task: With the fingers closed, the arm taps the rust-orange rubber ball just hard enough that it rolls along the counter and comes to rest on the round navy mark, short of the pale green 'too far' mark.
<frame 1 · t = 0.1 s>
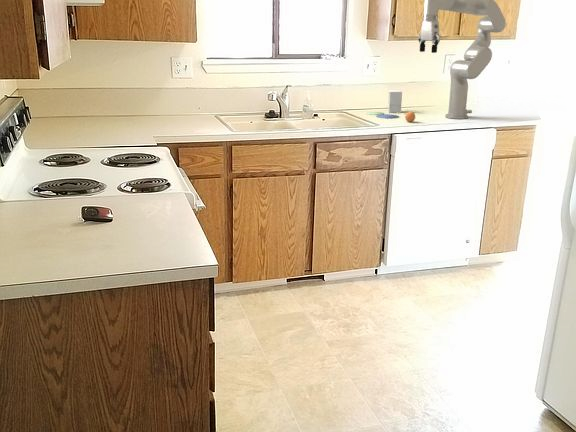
hand: (428, 52, 320), 37 cm above the counter, tool pointing down, fingers open, 9 cm apart
green far disc: (375, 113, 355), on the counter
supplement box: (394, 112, 361), on the counter
navy disc: (387, 116, 345), on the counter
ball: (410, 116, 327), on the counter
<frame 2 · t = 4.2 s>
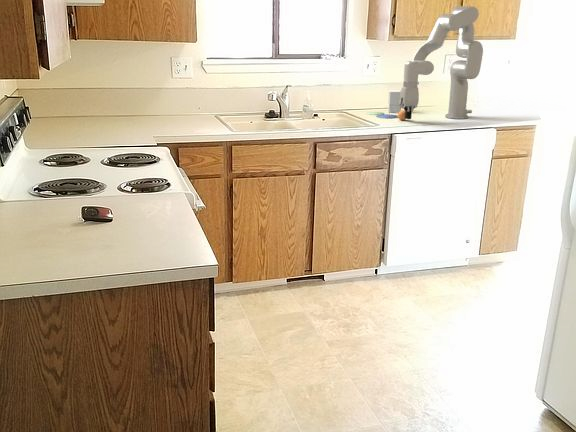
hand: (408, 118, 329), 2 cm above the counter, tool pointing down, fingers closed
ball: (402, 115, 332), on the counter
everything else where it was.
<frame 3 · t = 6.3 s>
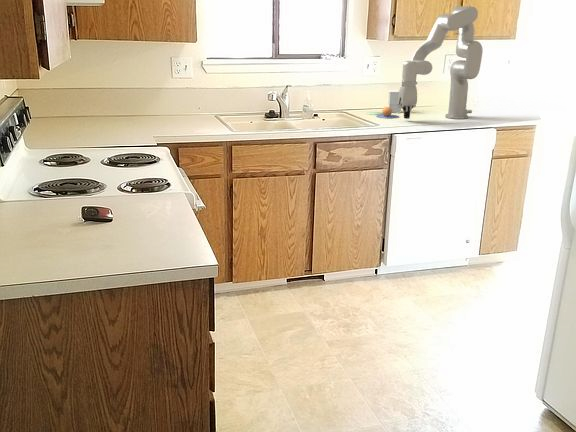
hand: (406, 118, 330), 2 cm above the counter, tool pointing down, fingers closed
ball: (387, 111, 344), on the counter
everything else where it was.
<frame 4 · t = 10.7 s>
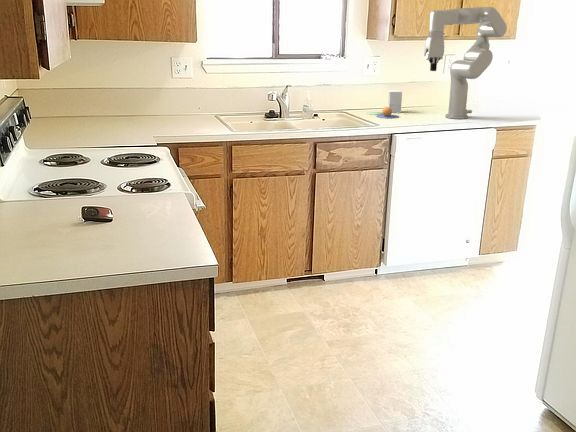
hand: (433, 70, 322), 27 cm above the counter, tool pointing down, fingers closed
nothing on the counter moved.
at the end: ball 0.6 cm from the navy disc (horizontally); ball at rest at the end (0.0 cm/s); ball moved 20.5 cm from its start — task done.
